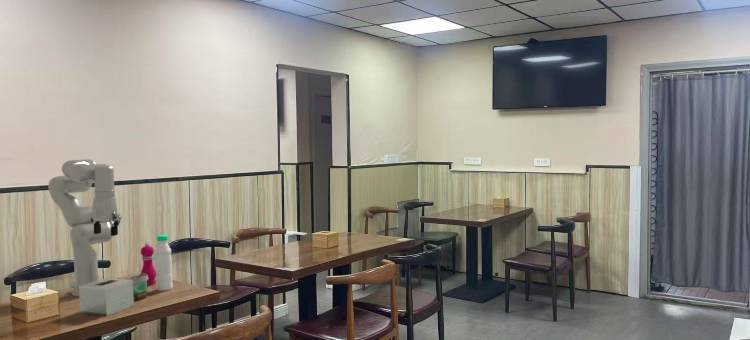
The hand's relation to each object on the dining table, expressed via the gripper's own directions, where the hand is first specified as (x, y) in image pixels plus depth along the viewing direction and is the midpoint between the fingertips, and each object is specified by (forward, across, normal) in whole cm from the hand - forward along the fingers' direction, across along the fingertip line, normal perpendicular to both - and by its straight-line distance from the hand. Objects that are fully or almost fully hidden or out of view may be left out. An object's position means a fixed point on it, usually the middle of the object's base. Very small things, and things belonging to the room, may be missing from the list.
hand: (105, 234), depth 244 cm
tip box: (+28, +10, -9) cm, 32 cm away
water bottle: (+29, +9, +24) cm, 39 cm away
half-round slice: (+29, +11, +8) cm, 32 cm away
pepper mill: (+30, -6, +29) cm, 42 cm away
